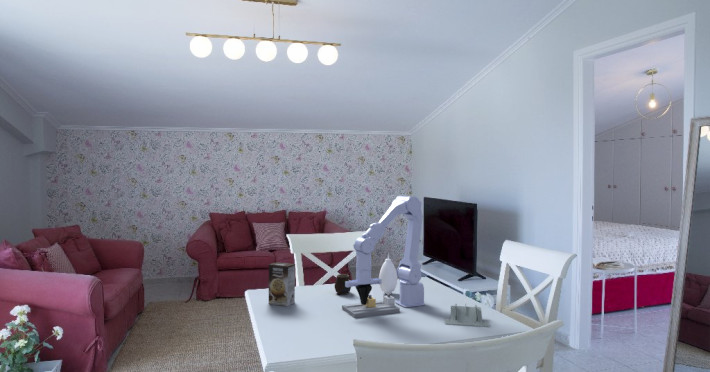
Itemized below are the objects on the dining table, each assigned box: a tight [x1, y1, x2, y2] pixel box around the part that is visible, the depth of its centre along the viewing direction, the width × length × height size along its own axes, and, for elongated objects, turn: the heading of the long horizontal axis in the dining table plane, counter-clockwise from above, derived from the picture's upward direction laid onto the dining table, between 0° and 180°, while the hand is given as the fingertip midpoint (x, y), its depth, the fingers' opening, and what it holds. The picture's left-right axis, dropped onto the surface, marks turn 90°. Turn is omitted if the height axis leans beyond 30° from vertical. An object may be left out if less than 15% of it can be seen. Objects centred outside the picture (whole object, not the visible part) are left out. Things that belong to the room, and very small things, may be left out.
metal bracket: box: [444, 303, 490, 328], centre depth 175 cm, size 14×6×15 cm
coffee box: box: [268, 261, 296, 307], centre depth 195 cm, size 9×6×16 cm
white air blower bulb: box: [378, 252, 398, 295], centre depth 211 cm, size 8×8×18 cm
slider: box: [365, 294, 377, 308], centre depth 186 cm, size 3×4×4 cm
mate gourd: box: [334, 272, 352, 295], centre depth 211 cm, size 7×8×10 cm
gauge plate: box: [341, 293, 401, 319], centre depth 186 cm, size 19×12×6 cm, turn 114°
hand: (363, 304), depth 185 cm, fingers closed
